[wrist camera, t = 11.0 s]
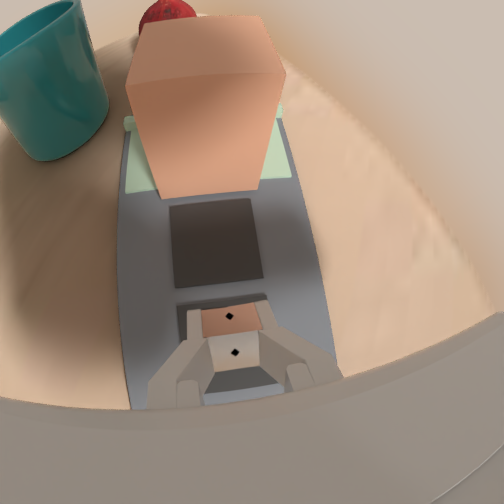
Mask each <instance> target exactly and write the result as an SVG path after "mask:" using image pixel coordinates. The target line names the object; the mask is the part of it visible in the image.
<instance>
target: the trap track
mask: <svg viewBox="0 0 504 504" xmlns="http://www.w3.org/2000/svg"><path fill="white" fill-rule="evenodd" d="M282 113H283V108H282V105H281V103H279V105H278V109H277V113H276V117H275V121H274V125H273V129H272V133H271V137H270V141H269V145H268V149H267V153H266V157H265V161H264V165H263V169H262V173H261V177H260V181H259V185H258V189H257V190H249V191H236V192H225V193H215V194H205V195H195V196H186V197H178V198H169V199H161V197H160V194H159V191H158V188H157V186H156V183H155V180H154V177H153V174H152V171H151V169H150V166H149V163H148V160H147V157H146V154H145V151H144V148H143V145H142V142H141V138H140V135H139V132H138V129H137V126H136V123H135V119H134V116H133V115H132V116H126V117H124V123H123V125H124V128H125V130H126V135H125V142H124V150H123V158H122V166H121V176H120V188H119V201H118V220H117V288H118V307H119V321H120V332H121V342H122V351H123V359H124V366H125V373H126V380H127V386H128V392H129V398H130V403H131V408H132V410H142V409H146V408H147V393H148V382H149V381H150V379H151V378H152V377H153V376H154V375H155V373H156V372H157V371H158V370H159V369H160V368H161V366H162V365H163V364H164V363H165V362H166V360H167V359H168V358H169V357H170V356H171V354H172V353H173V352H174V351H175V350H176V349H177V347H178V346H179V345H180V344H181V343H182V341H184V340H187V311H188V310H195V309H203V308H213V307H222V306H232V305H239V304H246V303H252V302H256V301H261V300H267V301H268V302H269V305H270V307H271V310H272V312H273V315H274V317H275V320H276V322H277V325H278V327H284V328H286V329H287V330H289V331H291V332H293V333H294V334H296V335H298V336H299V337H301V338H303V339H305V340H306V341H308V342H310V343H312V344H314V345H315V346H317V347H319V348H321V349H322V350H324V351H326V352H328V353H330V354H331V355H332V357H333V358H334V360H335V362H336V364H337V359H336V353H335V347H334V341H333V335H332V329H331V323H330V317H329V312H328V306H327V301H326V296H325V291H324V286H323V281H322V276H321V271H320V266H319V262H318V257H317V252H316V248H315V243H314V239H313V235H312V230H311V226H310V222H309V218H308V214H307V210H306V206H305V202H304V198H303V194H302V190H301V186H300V182H299V178H298V175H297V171H296V167H295V164H294V160H293V157H292V153H291V150H290V146H289V143H288V139H287V136H286V132H285V129H284V126H283V123H282V119H281V116H282ZM282 393H284V387H283V386H282V385H281V384H280V383H279V382H277V381H276V380H275V379H274V378H273V377H272V376H270V375H269V374H268V373H267V372H266V371H265V370H263V369H262V368H261V367H260V366H254V367H246V368H239V369H232V370H226V371H220V372H215V374H214V376H213V378H212V380H211V382H210V383H209V385H208V387H207V389H206V391H205V393H204V395H203V399H204V402H205V406H206V405H214V404H223V403H230V402H237V401H243V400H250V399H256V398H261V397H267V396H272V395H277V394H282Z"/></svg>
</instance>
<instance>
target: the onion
mask: <svg viewBox="0 0 504 504" xmlns="http://www.w3.org/2000/svg"><path fill="white" fill-rule="evenodd" d="M190 17H197V16H196V13H195V11H194V10H193V8H192V7H191V6H190V5H188V4H187V3H185V2H184V1H182V0H158V1H157V2H156V3H154V4H153V5H152V6H150V7H149V8H148V10H147V11H146V12H145V13H144V15H143V17H142V19H141V21H140V24H139V36H140V34H141V32H142V29H143V26H144V24H145V23H151V22H157V21H164V20H171V19H180V18H190Z"/></svg>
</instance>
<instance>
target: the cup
mask: <svg viewBox="0 0 504 504" xmlns="http://www.w3.org/2000/svg"><path fill="white" fill-rule="evenodd" d="M108 110H109V96H108V93H107V90H106V87H105V84H104V81H103V78H102V75H101V72H100V69H99V66H98V62H97V59H96V56H95V52H94V49H93V46H92V42H91V39H90V35H89V31H88V28H87V24H86V20H85V16H84V12H83V8H82V4H81V0H61V1H58V2H55V3H52V4H50V5H48V6H45V7H43V8H41V9H39V10H37V11H35V12H33V13H32V14H30V15H28V16H26V17H25V18H23V19H21V20H20V21H19V22H17V23H15V24H14V25H13V26H11V27H10V28H8V29H7V30H6V31H5V32H3V33H2V34H1V35H0V119H1V120H2V122H3V123H4V125H5V126H6V127H7V129H8V130H9V131H10V133H11V134H12V136H13V137H14V138H15V140H16V141H17V142H18V143H19V145H20V146H21V147H22V149H23V150H24V151H25V152H26V154H27V155H28V156H29V157H30V158H32V159H34V160H37V161H51V160H55V159H59V158H61V157H64V156H66V155H68V154H70V153H71V152H73V151H75V150H76V149H78V148H79V147H80V146H82V145H83V144H84V143H85V142H87V141H88V140H89V139H90V138H91V137H92V136H93V135H94V134H95V133H96V131H97V130H98V129H99V128H100V126H101V125H102V123H103V122H104V120H105V118H106V116H107V113H108Z"/></svg>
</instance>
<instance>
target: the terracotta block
mask: <svg viewBox="0 0 504 504" xmlns="http://www.w3.org/2000/svg"><path fill="white" fill-rule="evenodd" d="M285 77H286V72H285V70H284V67H283V65H282V63H281V61H280V58H279V56H278V54H277V52H276V50H275V47H274V45H273V43H272V41H271V39H270V36H269V34H268V32H267V30H266V28H265V26H264V24H263V22H262V20H261V18H260V16H240V15H237V16H235V15H234V16H233V15H229V16H203V17H190V18H180V19H171V20H164V21H157V22H151V23H145V24H144V26H143V29H142V32H141V34H140V37H139V40H138V43H137V46H136V49H135V52H134V56H133V59H132V62H131V66H130V69H129V73H128V76H127V80H126V84H125V88H126V92H127V96H128V99H129V102H130V106H131V109H132V113H133V116H134V119H135V123H136V126H137V129H138V132H139V135H140V138H141V142H142V145H143V148H144V151H145V154H146V157H147V160H148V163H149V166H150V169H151V171H152V174H153V177H154V180H155V183H156V186H157V188H158V191H159V194H160V197H161V199H169V198H178V197H186V196H195V195H205V194H215V193H225V192H236V191H249V190H257V189H258V185H259V181H260V177H261V173H262V169H263V165H264V161H265V157H266V153H267V149H268V145H269V141H270V137H271V133H272V129H273V125H274V121H275V117H276V113H277V109H278V105H279V101H280V97H281V93H282V89H283V85H284V81H285Z"/></svg>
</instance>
